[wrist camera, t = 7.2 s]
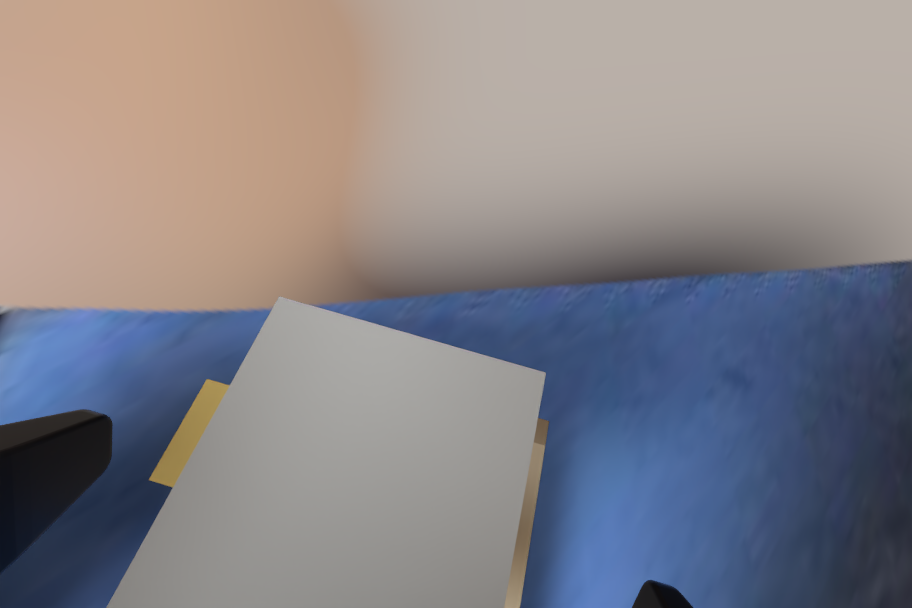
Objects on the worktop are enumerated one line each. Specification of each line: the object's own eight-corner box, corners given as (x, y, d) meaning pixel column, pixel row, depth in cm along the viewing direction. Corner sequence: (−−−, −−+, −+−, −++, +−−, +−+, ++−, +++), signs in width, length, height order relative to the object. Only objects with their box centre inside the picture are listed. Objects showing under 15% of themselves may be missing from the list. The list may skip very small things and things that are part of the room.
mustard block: (231, 500, 14) (189, 492, 12) (197, 490, 14) (148, 479, 12) (272, 413, 16) (243, 389, 13) (242, 404, 16) (207, 379, 13)
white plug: (436, 603, 13) (477, 754, 4) (313, 564, 14) (97, 622, 4) (468, 470, 15) (545, 372, 6) (360, 437, 16) (279, 296, 6)
